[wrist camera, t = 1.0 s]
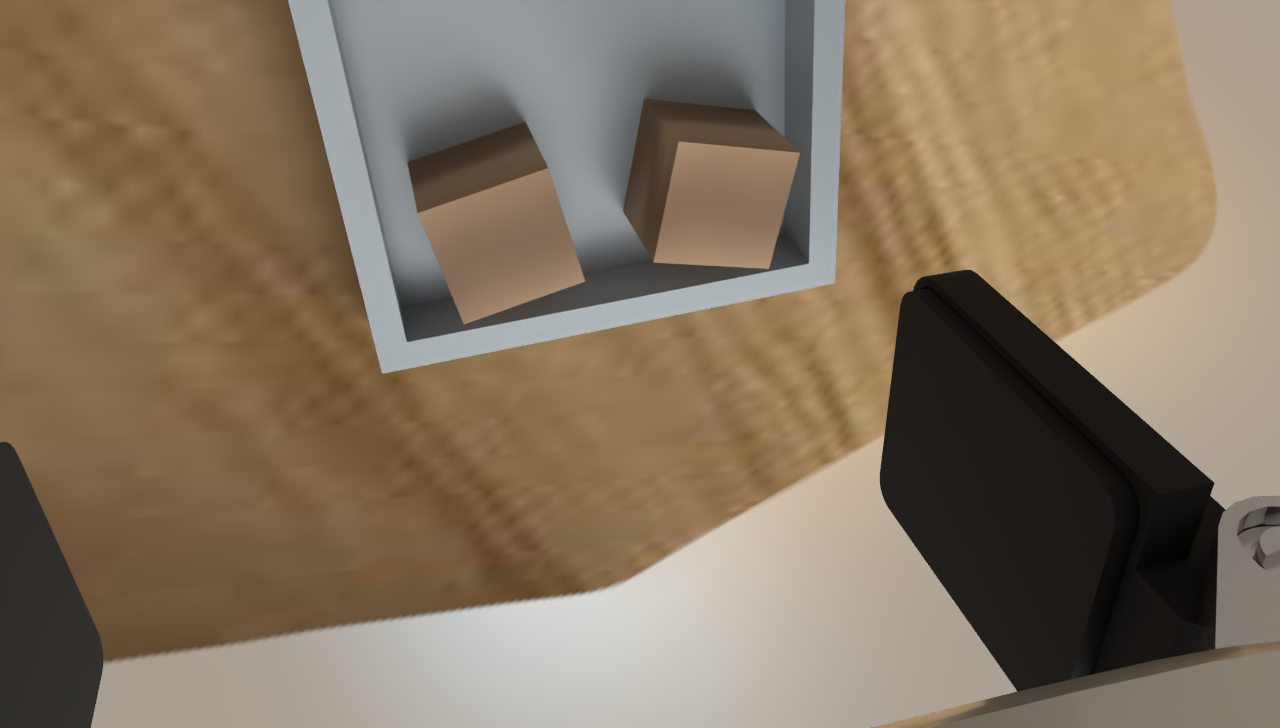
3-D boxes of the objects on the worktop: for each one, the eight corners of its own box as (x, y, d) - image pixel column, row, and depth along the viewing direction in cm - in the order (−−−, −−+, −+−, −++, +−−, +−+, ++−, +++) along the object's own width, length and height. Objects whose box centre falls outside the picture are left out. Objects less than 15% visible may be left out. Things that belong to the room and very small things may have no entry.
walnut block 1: (407, 162, 34) (417, 213, 30) (525, 121, 34) (548, 167, 31) (449, 266, 36) (464, 324, 33) (560, 227, 36) (585, 281, 33)
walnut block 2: (643, 98, 34) (678, 141, 31) (755, 110, 36) (800, 152, 32) (622, 211, 36) (653, 262, 33) (729, 218, 38) (769, 269, 34)
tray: (230, -264, 27) (222, -260, 25) (812, -318, 30) (856, -318, 27) (377, 328, 37) (382, 373, 35) (802, 246, 40) (834, 283, 37)
